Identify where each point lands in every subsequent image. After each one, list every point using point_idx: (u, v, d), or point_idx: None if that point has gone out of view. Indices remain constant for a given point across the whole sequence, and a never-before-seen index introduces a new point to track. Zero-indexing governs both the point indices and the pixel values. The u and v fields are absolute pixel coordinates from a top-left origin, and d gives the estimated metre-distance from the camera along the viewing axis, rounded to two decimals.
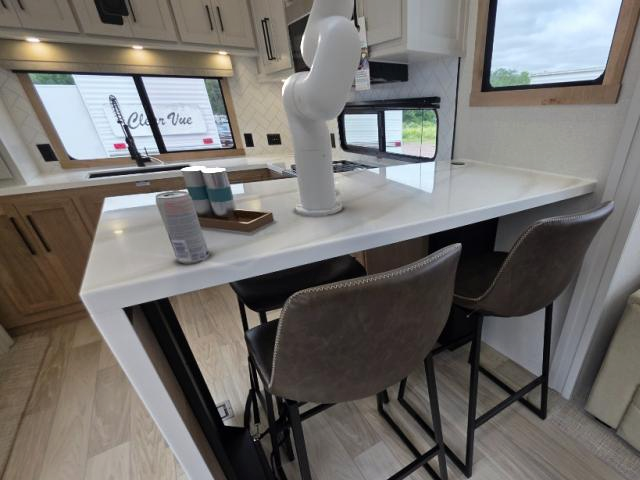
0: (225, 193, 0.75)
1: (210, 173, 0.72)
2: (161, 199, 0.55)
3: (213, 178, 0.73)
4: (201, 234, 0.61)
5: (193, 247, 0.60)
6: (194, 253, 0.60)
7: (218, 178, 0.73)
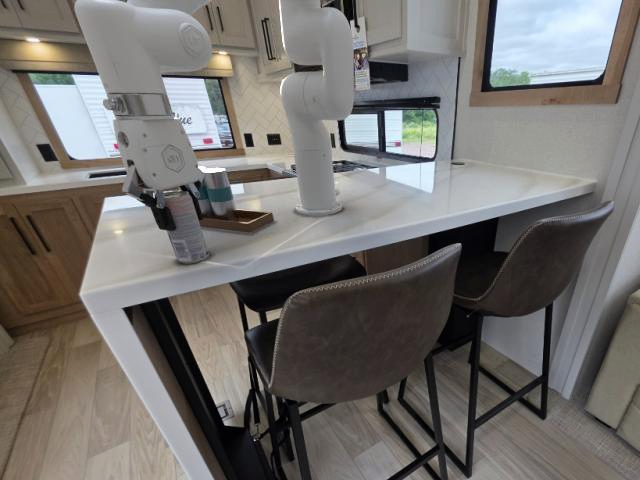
0: (225, 193, 0.75)
1: (210, 173, 0.72)
2: None
3: (213, 178, 0.73)
4: (201, 234, 0.61)
5: (193, 247, 0.60)
6: (194, 253, 0.60)
7: (218, 178, 0.73)
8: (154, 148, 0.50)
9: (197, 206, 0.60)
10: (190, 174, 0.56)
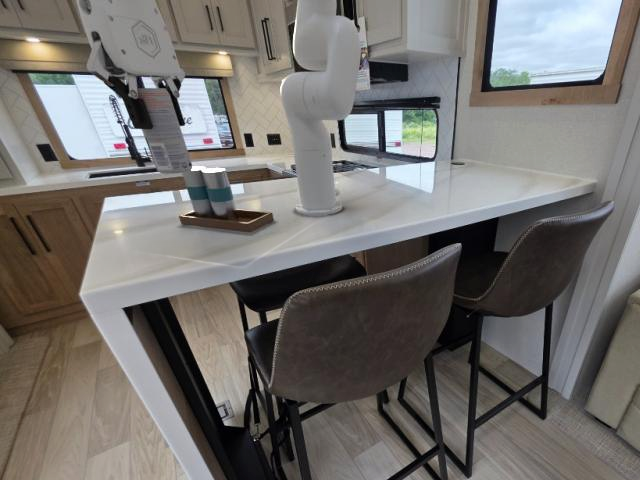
0: (225, 193, 0.75)
1: (210, 173, 0.72)
2: None
3: (213, 178, 0.73)
4: (182, 140, 0.55)
5: (174, 153, 0.54)
6: (175, 161, 0.54)
7: (218, 178, 0.73)
8: (122, 19, 0.44)
9: (177, 108, 0.54)
10: (167, 64, 0.50)
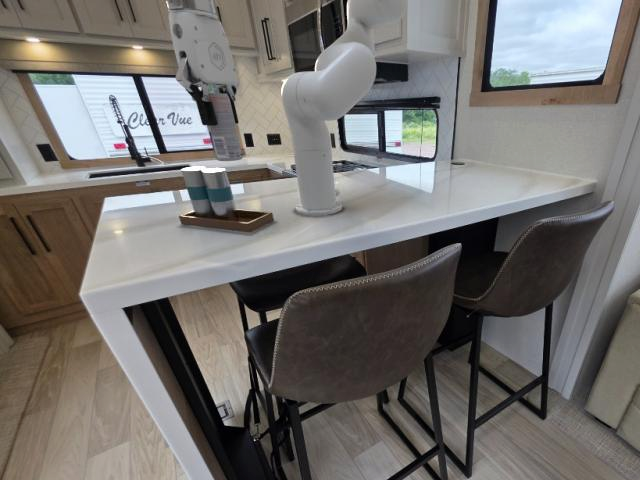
0: (225, 193, 0.75)
1: (210, 173, 0.72)
2: None
3: (213, 178, 0.73)
4: (237, 135, 0.68)
5: (231, 144, 0.67)
6: (231, 151, 0.68)
7: (218, 178, 0.73)
8: (202, 42, 0.58)
9: (234, 109, 0.68)
10: (229, 75, 0.64)
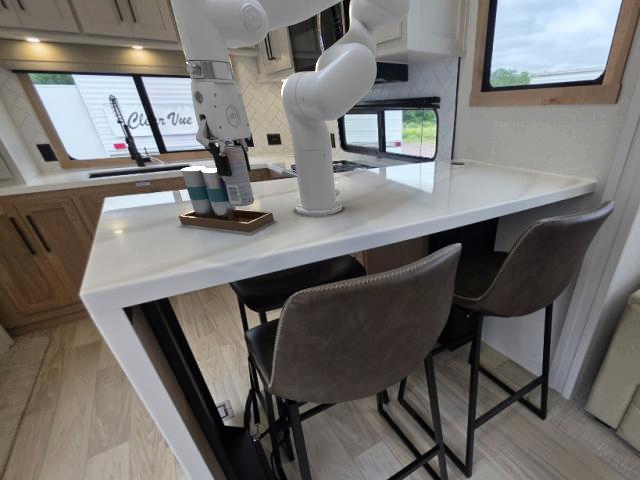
0: (225, 193, 0.75)
1: (210, 173, 0.72)
2: None
3: (213, 178, 0.73)
4: (249, 182, 0.74)
5: (243, 191, 0.73)
6: (244, 197, 0.74)
7: (218, 178, 0.73)
8: (221, 105, 0.63)
9: (246, 159, 0.73)
10: (243, 130, 0.70)
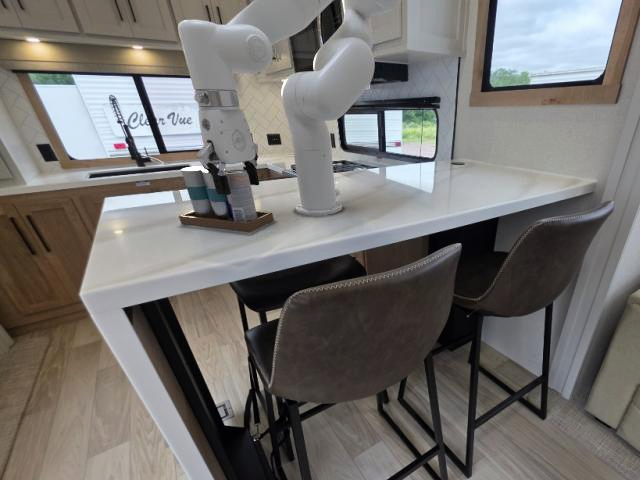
0: None
1: None
2: (227, 174, 0.71)
3: None
4: (254, 204, 0.77)
5: (248, 214, 0.76)
6: (249, 219, 0.76)
7: None
8: (227, 131, 0.66)
9: (255, 173, 0.77)
10: (249, 153, 0.72)
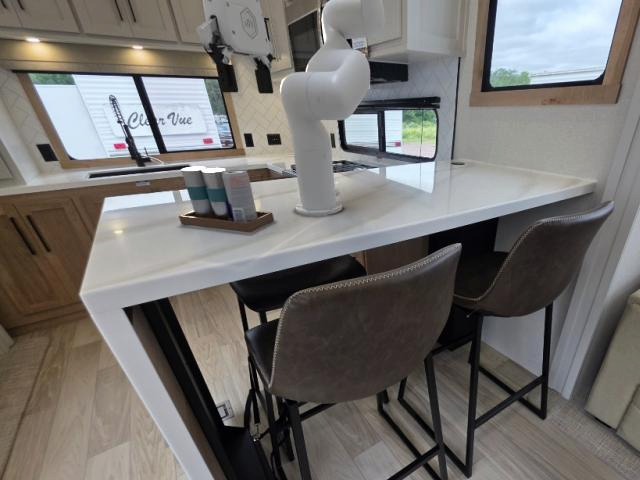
0: (225, 193, 0.75)
1: (210, 173, 0.72)
2: (227, 174, 0.71)
3: (213, 178, 0.73)
4: (254, 204, 0.77)
5: (248, 214, 0.76)
6: (249, 219, 0.76)
7: (218, 178, 0.73)
8: (235, 5, 0.53)
9: (269, 77, 0.64)
10: (261, 45, 0.60)
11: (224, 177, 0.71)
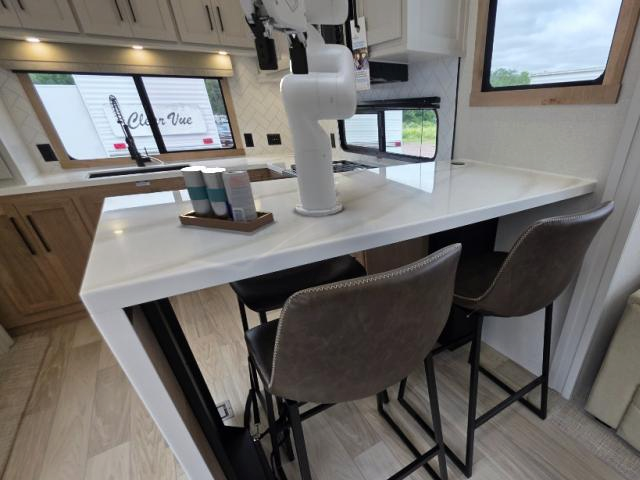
0: (225, 193, 0.75)
1: (210, 173, 0.72)
2: (227, 174, 0.71)
3: (213, 178, 0.73)
4: (254, 204, 0.77)
5: (248, 214, 0.76)
6: (249, 219, 0.76)
7: (218, 178, 0.73)
8: None
9: (305, 56, 0.60)
10: (300, 20, 0.55)
11: (224, 177, 0.71)
